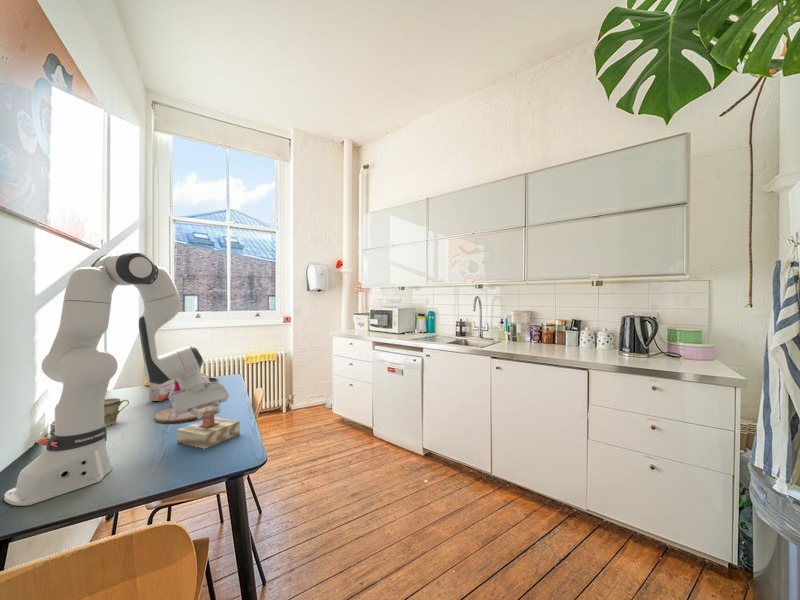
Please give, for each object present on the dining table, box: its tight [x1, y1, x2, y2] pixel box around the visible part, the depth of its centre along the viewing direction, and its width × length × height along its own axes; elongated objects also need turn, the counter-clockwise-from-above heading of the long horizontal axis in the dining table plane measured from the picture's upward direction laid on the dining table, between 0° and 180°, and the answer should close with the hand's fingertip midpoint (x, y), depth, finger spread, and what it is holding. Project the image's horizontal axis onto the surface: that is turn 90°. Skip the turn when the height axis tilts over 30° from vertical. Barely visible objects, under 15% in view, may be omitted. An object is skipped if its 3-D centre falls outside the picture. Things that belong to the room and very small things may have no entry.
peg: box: [201, 411, 215, 429], centre depth 132 cm, size 4×4×10 cm
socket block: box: [176, 416, 241, 450], centre depth 133 cm, size 15×15×5 cm
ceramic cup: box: [104, 397, 130, 427], centre depth 152 cm, size 13×10×10 cm
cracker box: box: [148, 378, 175, 402], centre depth 190 cm, size 14×6×21 cm, turn 179°
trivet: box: [154, 405, 216, 424], centre depth 163 cm, size 25×25×2 cm
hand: (209, 415), depth 132 cm, fingers open, 5 cm apart
